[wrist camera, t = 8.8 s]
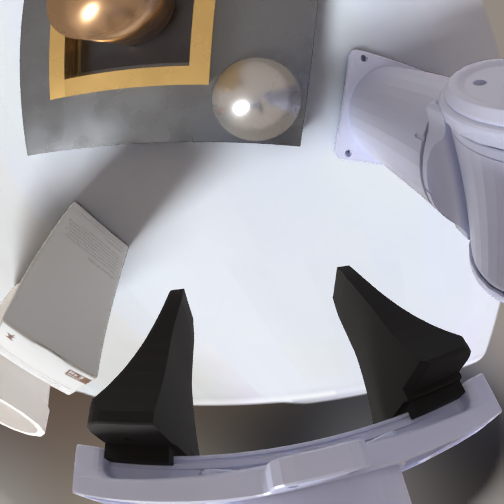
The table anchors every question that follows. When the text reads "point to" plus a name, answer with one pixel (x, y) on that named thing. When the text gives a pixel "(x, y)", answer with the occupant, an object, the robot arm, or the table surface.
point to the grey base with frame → (171, 78)
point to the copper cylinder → (110, 19)
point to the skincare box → (65, 303)
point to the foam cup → (21, 393)
